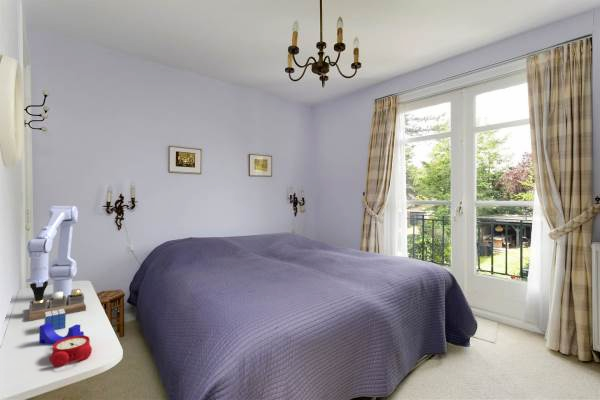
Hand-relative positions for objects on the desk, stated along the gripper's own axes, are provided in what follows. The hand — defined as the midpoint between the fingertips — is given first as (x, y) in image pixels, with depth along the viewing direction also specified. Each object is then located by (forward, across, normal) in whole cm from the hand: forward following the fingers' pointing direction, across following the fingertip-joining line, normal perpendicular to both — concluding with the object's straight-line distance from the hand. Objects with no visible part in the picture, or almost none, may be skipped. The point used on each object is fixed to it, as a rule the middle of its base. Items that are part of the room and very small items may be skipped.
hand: (38, 300), depth 125 cm
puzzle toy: (+6, +21, +4) cm, 22 cm away
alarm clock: (+6, +50, +7) cm, 51 cm away
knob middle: (+1, 0, +6) cm, 6 cm away
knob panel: (+5, 0, +6) cm, 8 cm away
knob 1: (+3, 0, 0) cm, 3 cm away
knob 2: (+1, 0, +12) cm, 12 cm away
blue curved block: (+6, +36, +5) cm, 37 cm away
